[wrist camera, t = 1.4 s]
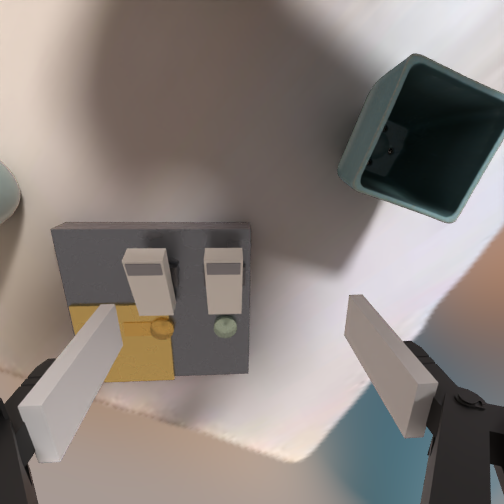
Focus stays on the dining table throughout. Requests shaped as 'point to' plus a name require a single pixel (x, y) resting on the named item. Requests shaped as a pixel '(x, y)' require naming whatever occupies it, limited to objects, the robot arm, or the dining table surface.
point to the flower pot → (424, 138)
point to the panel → (185, 289)
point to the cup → (8, 193)
